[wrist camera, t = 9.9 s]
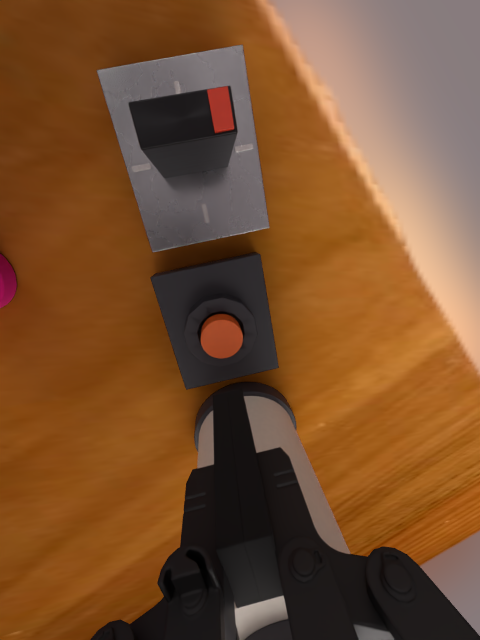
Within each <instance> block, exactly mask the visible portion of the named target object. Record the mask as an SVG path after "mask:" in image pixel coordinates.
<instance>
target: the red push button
mask: <svg viewBox="0 0 480 640" xmlns="http://www.w3.org/2000/svg"><path fill="white" fill-rule="evenodd" d="M242 342H243V335H242V331H241V328H240V325H239V323H238V322H237V320H236V319H235V318H233V317H232V316H230V315H227V314H216V315H213V316H211V317H209V318H208V319H207V320H206V321H205V322H204V324H203V326H202V329H201V345H202V347H203V349H204V350H205V352H206V353H207V354H209V355H210V356H212V357H215V358H228V357H230V356H232V355H234V354H235V353H236V352H238V350H239V349H240V347H241V345H242Z"/></svg>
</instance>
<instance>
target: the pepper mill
mask: <svg viewBox="0 0 480 640" xmlns="http://www.w3.org/2000/svg"><path fill="white" fill-rule="evenodd" d="M16 287H17V282H16V275H15V273H14V270H13V268H12V266H11V265H10V264H9V262H8V261H7V260H6V258H5V257H4V256H3V255H1V254H0V308H1V307H3V306H5V305H7V304H8V303H9V302H10V301H11V300H12V298H13V297H14V295H15V292H16Z"/></svg>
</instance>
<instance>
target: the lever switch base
mask: <svg viewBox="0 0 480 640" xmlns="http://www.w3.org/2000/svg"><path fill="white" fill-rule="evenodd" d="M97 73H98V77H99V80H100V83H101V86H102V90H103V93H104V96H105V100H106V103H107V106H108V109H109V113H110V116H111V119H112V122H113V126H114V129H115V132H116V135H117V139H118V142H119V145H120V148H121V152H122V155H123V158H124V162H125V165H126V168H127V171H128V175H129V178H130V181H131V184H132V188H133V191H134V194H135V197H136V201H137V204H138V207H139V210H140V214H141V217H142V220H143V223H144V227H145V230H146V233H147V237H148V240H149V243H150V246H151V250H152V252H157V251H162V250H167V249H172V248H176V247H181V246H186V245H191V244H195V243H200V242H205V241H210V240H214V239H219V238H224V237H229V236H233V235H238V234H243V233H248V232H252V231H257V230H262V229H267V228H269V221H268V214H267V207H266V200H265V194H264V187H263V180H262V173H261V166H260V159H259V153H258V146H257V139H256V132H255V125H254V118H253V112H252V105H251V98H250V91H249V84H248V77H247V71H246V64H245V57H244V50H243V45H238V46H232V47H226V48H220V49H215V50H209V51H203V52H198V53H192V54H186V55H181V56H175V57H169V58H163V59H158V60H152V61H146V62H141V63H135V64H129V65H123V66H118V67H112V68H106V69H101V70H97ZM228 85H229V86H230V87H231V91H232V97H233V103H234V110H235V116H236V123H237V129H238V133H237V137H236V140H235V144H234V147H233V151H232V154H231V158H230V161H229V165H228V167H224V168H219V169H213V170H208V171H203V172H197V173H192V174H186V175H181V176H175V177H170V178H164V177H163V176H162V175H161V174H160V172H159V171H158V170H157V169H156V167H155V166H154V165H153V164H152V162H151V161H150V160H149V159H148V158H147V156H146V155H145V154H144V153H143V151H142V150H141V149H140V145H139V141H138V138H137V134H136V130H135V127H134V123H133V119H132V116H131V112H130V108H129V102H132V101H138V100H144V99H150V98H156V97H162V96H168V95H174V94H180V93H186V92H192V91H198V90H204V89H210V88H216V87H222V86H228Z"/></svg>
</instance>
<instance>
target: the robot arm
mask: <svg viewBox="0 0 480 640" xmlns="http://www.w3.org/2000/svg"><path fill="white" fill-rule="evenodd" d="M213 439H214V464H213V465H209V466H205V467H201V468H197V469H193V470H192V472H191V474H190V477H189V479H188V481H187V483H186V492H185V503H184V514H183V524H182V534H181V545H180V548H178V549H177V550H176V551H175V552H173V553H172V554H171V555H170V556H169V557H168V559H167V561H166V562H165V564H164V566H163V567H162V569H161V572H160V576H159V579H158V583H157V584H158V585H159V587H160V589H161V591H162V593H163V595H164V597H163V599H162V600H161V601H160V602H159V603H158V604H156V605H155V606H154V607H153V608H152V609H150V610H149V611H147V612H146V613H145V614H143V615H142V616H141V617H139V618H138V619H136V620H135V621H134V622H132V623H131V624H130V625H129V624H128V623H126V622H124V621H122V620H117V621H112V622H109V623H108V624H106V625H105V626H104V627H102V628H101V629H99V630H98V631H97V632H96V634H95V635H94V636H93V637H92V638H91V640H240V639H239V635H238V630H237V627H236V621H235V606H234V602H235V605H236V608H240V607H244V606H248V605H251V604H255V603H258V602H262V601H266V600H269V599H273V598H277V597H280V596H284V600H285V605H286V610H287V615H288V620H289V625H290V630H291V634H292V639H293V640H480V636H479V635H478V634H477V632H476V631H475V630H474V629H473V628H472V627H471V625H470V624H469V623H468V622H467V621H466V620H465V619H464V617H463V616H462V615H461V614H460V613H459V612H458V610H457V609H456V608H455V607H454V606H453V605H452V603H451V602H450V601H449V600H448V599H447V598H446V597H445V595H444V594H443V593H442V592H441V591H440V590H439V588H438V587H437V586H436V585H435V584H434V583H433V581H432V580H431V579H430V578H429V577H428V576H427V574H426V573H425V572H424V571H423V570H422V569H421V568H420V566H419V565H418V564H417V563H416V562H414V561H413V560H412V559H411V558H410V557H409V556H408V555H407V554H405V553H403V552H401V551H399V550H397V549H395V548H390V547H380V548H377V549H374V550H373V551H372V552H371V553H370V555H369V556H368V557H366V556H359V555H353V554H346V553H343V552H339V551H337V550H335V549H333V548H332V547H330V546H329V545H328V544H327V543H325V542H324V541H323V540H322V538H321V537H320V536H319V534H318V533H317V530H316V528H315V526H314V524H313V521H312V518H311V515H310V513H309V510H308V507H307V504H306V501H305V499H304V496H303V493H302V490H301V488H300V485H299V483H298V479H297V476H296V474H295V471H294V468H293V465H292V463H291V460H290V457H289V456H288V455H287V454H286V452H285V451H284V450H283V449H282V448H281V447H278V448H274V449H270V450H266V451H262V452H258V453H256V449H255V444H254V439H253V435H252V430H251V426H250V421H249V417H248V413H247V408H246V404H245V399H244V395H243V391H242V388H241V389H237V390H233V391H229V392H225V393H220V394H216V395H213Z"/></svg>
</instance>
